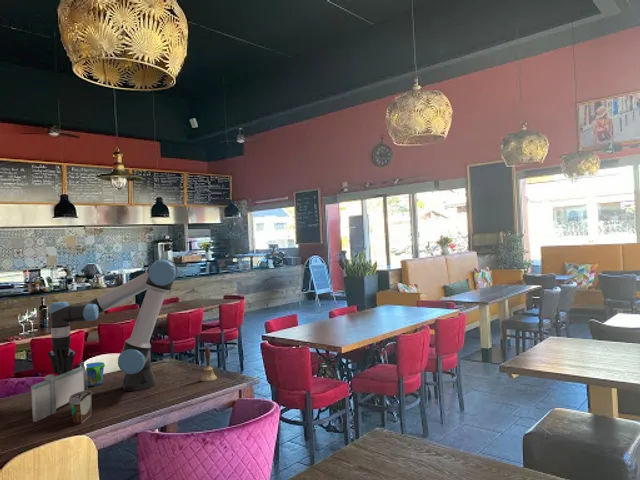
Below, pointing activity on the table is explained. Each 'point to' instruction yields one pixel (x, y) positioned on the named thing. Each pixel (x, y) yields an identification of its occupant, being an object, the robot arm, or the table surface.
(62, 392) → the gate
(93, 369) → the snack cup
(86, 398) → the food container
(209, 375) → the hand bell
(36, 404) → the fence
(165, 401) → the table surface
